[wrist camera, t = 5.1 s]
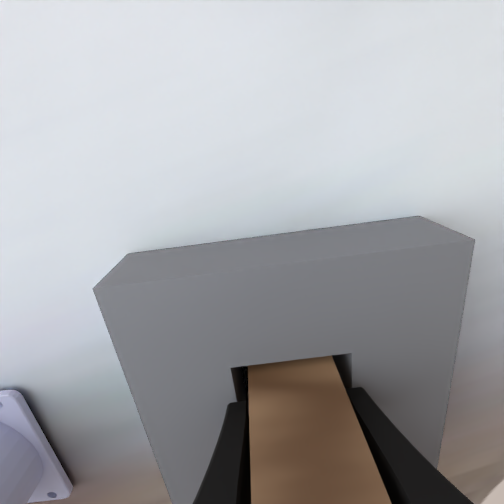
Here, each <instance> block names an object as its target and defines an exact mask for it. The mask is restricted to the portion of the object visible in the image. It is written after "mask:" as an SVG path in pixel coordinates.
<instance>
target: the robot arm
mask: <svg viewBox="0 0 504 504" xmlns="http://www.w3.org/2000/svg"><path fill="white" fill-rule="evenodd" d="M345 390H346V392H347V395H348V397H349V400H350V402H351V405H352V407H353V410H354V412H355V415H356V417H357V419H358V422H359V424H360V427H361V429H362V432H363V434H364V437H365V439H366V442H367V444H368V447H369V449H370V451H371V454H372V456H373V459H374V461H375V464H376V466H377V469H378V471H379V474H380V476H381V479H382V481H383V484H384V486H385V488H386V491H387V493H388V496H389V498H390V501H391V503H392V504H474V503H472V502H471V501H470V500H469V499H468V498H467V497H466V496H465V495H464V494H462V493H461V492H460V491H459V490H458V489H457V488H456V487H455V486H454V485H453V484H452V483H450V482H449V481H448V480H447V479H446V478H445V477H444V476H443V475H442V474H441V473H440V472H439V471H438V470H437V469H436V468H435V467H434V466H433V465H432V464H431V463H430V462H429V461H428V460H427V459H426V458H425V457H424V456H423V455H422V454H421V453H420V452H419V451H418V450H417V449H416V448H415V447H414V446H413V445H412V444H411V443H410V442H409V440H408V439H407V438H406V437H405V436H404V435H403V434H402V433H401V432H400V431H399V430H398V429H397V428H396V426H395V425H394V424H393V423H392V422H391V421H390V420H389V418H388V417H387V416H386V415H385V414H384V413H383V412H382V410H381V409H380V408H379V407H378V406H377V404H376V403H375V402H374V401H373V399H372V398H371V397H370V396H369V394H368V393H367V392H366V391H365V389H364V388H362V387H356V388H348V389H345ZM72 490H73V486H72V484H71V482H70V480H69V478H68V476H67V475H66V473H65V471H64V469H63V468H62V466H61V464H60V462H59V460H58V459H57V457H56V455H55V453H54V451H53V450H52V448H51V446H50V444H49V442H48V441H47V439H46V437H45V435H44V433H43V432H42V430H41V428H40V426H39V424H38V423H37V421H36V419H35V417H34V415H33V414H32V412H31V410H30V408H29V407H28V405H27V403H26V401H25V399H24V398H23V396H22V394H21V393H20V392H18V391H16V390H2V391H0V504H27V503H32V502H40V501H49V500H58V499H65V498H67V497H69V496H70V494H71V492H72ZM193 504H251V471H250V433H249V415H248V409H247V404H246V401H240V402H232V403H229V404H228V405H227V409H226V414H225V418H224V421H223V425H222V428H221V432H220V435H219V438H218V441H217V444H216V447H215V449H214V452H213V455H212V458H211V460H210V463H209V466H208V468H207V471H206V473H205V476H204V478H203V481H202V483H201V485H200V488H199V490H198V493H197V495H196V497H195V500H194V502H193Z"/></svg>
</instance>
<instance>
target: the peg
mask: <svg viewBox="0 0 504 504" xmlns="http://www.w3.org/2000/svg"><path fill="white" fill-rule="evenodd" d="M248 395H249V433H250V471H251V504H392V503H391V501H390V498H389V496H388V493H387V491H386V488H385V486H384V484H383V481H382V479H381V476H380V474H379V471H378V469H377V466H376V464H375V461H374V459H373V456H372V454H371V451H370V449H369V447H368V444H367V442H366V439H365V437H364V434H363V432H362V429H361V427H360V424H359V422H358V419H357V417H356V415H355V412H354V410H353V407H352V405H351V402H350V400H349V397H348V395H347V392H346V390H345V387H344V385H343V382H342V380H341V378H340V375H339V373H338V370H337V368H336V365H335V363H334V360H333V358H332V355H331V356H323V357H315V358H306V359H298V360H290V361H282V362H274V363H266V364H258V365H249V366H248Z"/></svg>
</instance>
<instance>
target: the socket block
mask: <svg viewBox="0 0 504 504" xmlns="http://www.w3.org/2000/svg"><path fill="white" fill-rule="evenodd" d="M474 243H475V239H472V238H470V237H468V236H465V235H463V234H461V233H458V232H456V231H454V230H451V229H449V228H447V227H444V226H442V225H440V224H437V223H435V222H432V221H430V220H428V219H425V218H423V217H421V216H414V217H407V218H399V219H391V220H384V221H376V222H368V223H361V224H353V225H345V226H337V227H330V228H322V229H314V230H307V231H299V232H291V233H284V234H276V235H268V236H260V237H253V238H245V239H237V240H230V241H222V242H214V243H207V244H199V245H191V246H183V247H176V248H168V249H160V250H153V251H145V252H137V253H130V254H127V255H126V256H125V257H124V258H123V259H122V260H121V261H120V262H119V263H118V264H117V265H116V266H115V267H114V268H113V269H112V270H111V271H110V272H109V273H108V274H107V275H106V276H105V277H104V278H103V279H102V280H101V281H100V282H99V283H98V284H97V285H96V286H95V287H94V288H93V291H94V294H95V297H96V299H97V302H98V305H99V307H100V310H101V313H102V315H103V318H104V321H105V324H106V326H107V329H108V332H109V334H110V337H111V340H112V342H113V345H114V348H115V350H116V353H117V356H118V359H119V361H120V364H121V367H122V369H123V372H124V375H125V377H126V380H127V383H128V385H129V388H130V391H131V394H132V396H133V399H134V402H135V404H136V407H137V410H138V412H139V415H140V418H141V420H142V423H143V426H144V429H145V431H146V434H147V437H148V439H149V442H150V445H151V447H152V450H153V453H154V455H155V458H156V461H157V464H158V466H159V469H160V472H161V474H162V477H163V480H164V482H165V485H166V488H167V490H168V493H169V496H170V499H171V501H172V504H193V502H194V500H195V497H196V495H197V493H198V490H199V488H200V485H201V483H202V481H203V478H204V476H205V473H206V471H207V468H208V466H209V463H210V460H211V458H212V455H213V452H214V449H215V447H216V444H217V441H218V438H219V435H220V432H221V428H222V425H223V421H224V418H225V414H226V409H227V405H228V404H229V403H232V402H240V401H246V404H247V409H248V415H249V395H248V391H246V390H245V385H244V379H243V374H242V368H241V366H249V365H258V364H266V363H274V362H282V361H290V360H298V359H306V358H315V357H323V356H331V355H332V358H333V360H334V363H335V365H336V368H337V370H338V373H339V375H340V378H341V380H342V382H343V385H344V387H345V389H348V388H356V387H362V388H364V389H365V391H366V392H367V393H368V394H369V396H370V397H371V398H372V399H373V401H374V402H375V403H376V404H377V406H378V407H379V408H380V409H381V410H382V412H383V413H384V414H385V415H386V416H387V417H388V418H389V420H390V421H391V422H392V423H393V424H394V425H395V426H396V428H397V429H398V430H399V431H400V432H401V433H402V434H403V435H404V436H405V437H406V438H407V439H408V440H409V442H410V443H411V444H412V445H413V446H414V447H415V448H416V449H417V450H418V451H419V452H420V453H421V454H422V455H423V456H424V457H425V458H426V459H427V460H428V461H429V462H430V463H431V464H432V465H433V466H434V467H435V468H436V469H437V466H438V460H439V454H440V448H441V442H442V436H443V430H444V424H445V418H446V412H447V406H448V400H449V394H450V388H451V382H452V376H453V370H454V364H455V358H456V351H457V345H458V339H459V333H460V327H461V321H462V315H463V309H464V303H465V297H466V291H467V285H468V279H469V273H470V267H471V261H472V255H473V249H474Z"/></svg>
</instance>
